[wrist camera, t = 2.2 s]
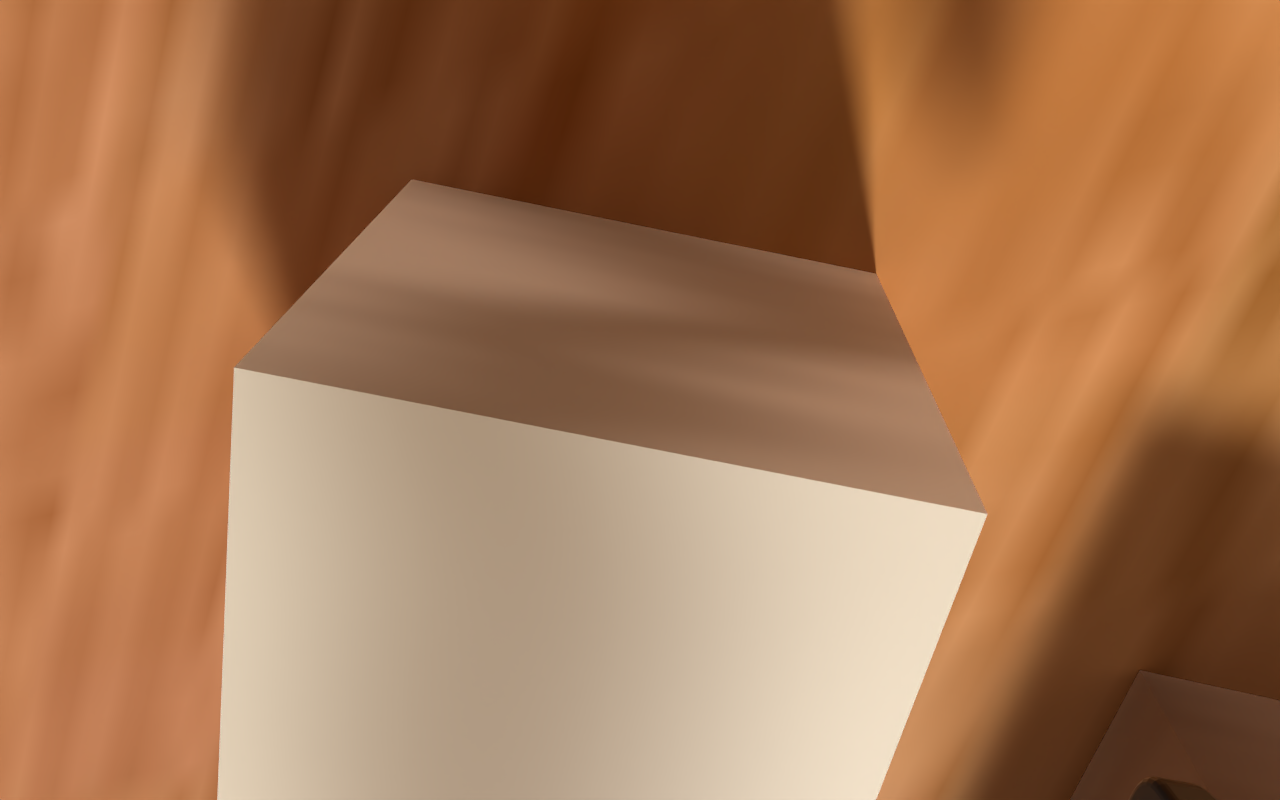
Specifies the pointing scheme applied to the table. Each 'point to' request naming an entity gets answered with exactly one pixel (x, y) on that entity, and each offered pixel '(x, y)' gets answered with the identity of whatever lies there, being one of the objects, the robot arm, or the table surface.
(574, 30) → the table surface
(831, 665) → the maple cube
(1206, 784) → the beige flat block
